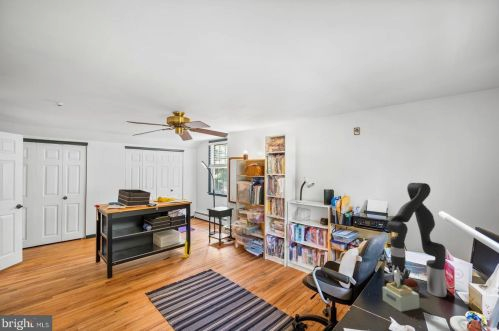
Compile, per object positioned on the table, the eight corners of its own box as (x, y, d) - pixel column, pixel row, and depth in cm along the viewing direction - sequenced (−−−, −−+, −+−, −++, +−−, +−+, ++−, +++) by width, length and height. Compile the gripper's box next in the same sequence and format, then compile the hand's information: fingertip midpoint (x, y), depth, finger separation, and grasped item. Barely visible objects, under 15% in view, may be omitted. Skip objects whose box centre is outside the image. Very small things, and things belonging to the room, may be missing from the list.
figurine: (380, 276, 150) (401, 270, 156) (380, 288, 150) (401, 282, 156) (400, 287, 136) (422, 281, 142) (401, 301, 136) (423, 294, 142)
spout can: (398, 283, 134) (397, 266, 134) (404, 287, 130) (404, 269, 130) (392, 284, 133) (392, 267, 133) (399, 288, 128) (398, 270, 129)
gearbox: (396, 294, 141) (395, 278, 142) (419, 307, 127) (418, 289, 127) (378, 297, 138) (378, 280, 138) (400, 311, 123) (399, 292, 124)
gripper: (414, 258, 126) (415, 288, 125) (392, 250, 140) (392, 277, 139) (404, 259, 124) (405, 289, 123) (382, 251, 138) (383, 278, 137)
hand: (398, 282), depth 131 cm, fingers closed on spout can, 4 cm apart
